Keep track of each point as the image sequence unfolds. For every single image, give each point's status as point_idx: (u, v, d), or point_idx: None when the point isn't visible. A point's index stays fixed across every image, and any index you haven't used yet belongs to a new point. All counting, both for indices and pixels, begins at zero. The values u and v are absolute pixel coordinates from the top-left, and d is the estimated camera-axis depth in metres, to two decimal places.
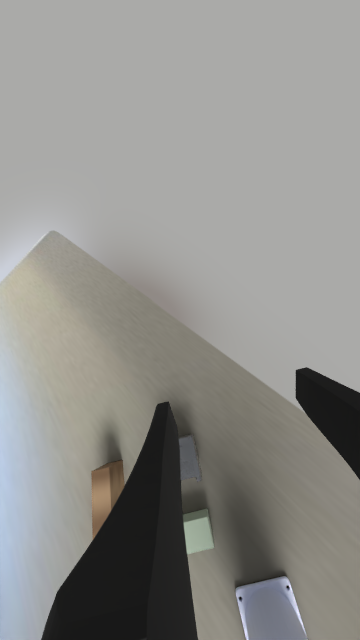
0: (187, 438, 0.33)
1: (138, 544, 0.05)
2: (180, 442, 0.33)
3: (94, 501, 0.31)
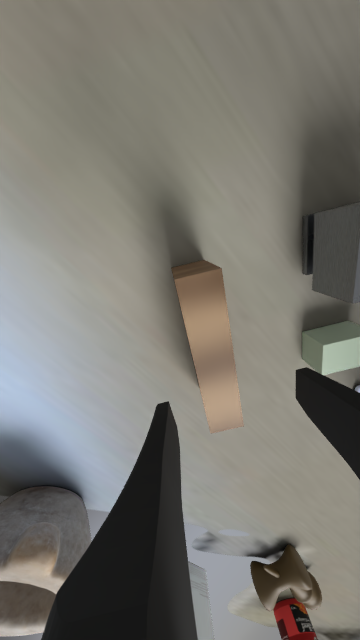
0: None
1: (138, 544, 0.05)
2: None
3: (192, 333, 0.14)
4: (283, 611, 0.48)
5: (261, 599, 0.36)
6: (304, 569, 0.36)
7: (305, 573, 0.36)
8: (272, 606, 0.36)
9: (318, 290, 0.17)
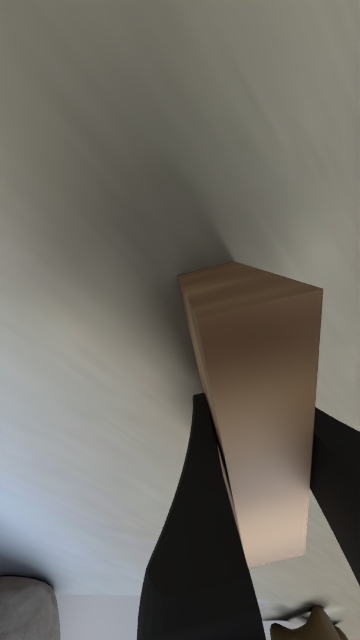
0: None
1: (217, 525, 0.05)
2: None
3: (232, 431, 0.06)
4: None
5: None
6: None
7: None
8: None
9: None
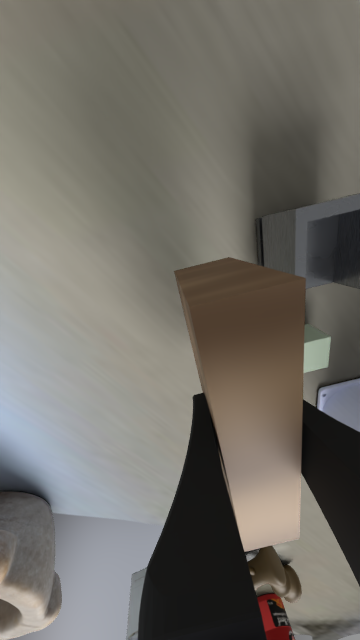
0: None
1: (218, 525, 0.05)
2: None
3: (225, 415, 0.06)
4: (260, 606, 0.49)
5: None
6: (278, 565, 0.37)
7: (279, 569, 0.36)
8: None
9: None
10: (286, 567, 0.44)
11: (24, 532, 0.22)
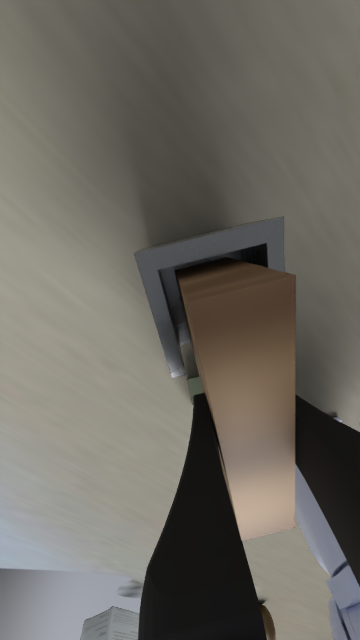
0: (263, 228, 0.08)
1: (218, 524, 0.05)
2: (233, 244, 0.08)
3: (222, 405, 0.07)
4: None
5: None
6: None
7: None
8: None
9: None
10: (260, 608, 0.40)
11: None
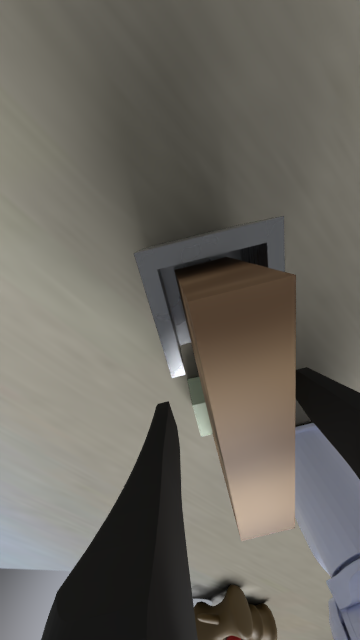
0: (263, 227, 0.08)
1: (138, 544, 0.05)
2: (233, 244, 0.08)
3: (222, 405, 0.07)
4: None
5: None
6: (244, 614, 0.33)
7: (244, 619, 0.33)
8: None
9: None
10: (262, 607, 0.40)
11: None
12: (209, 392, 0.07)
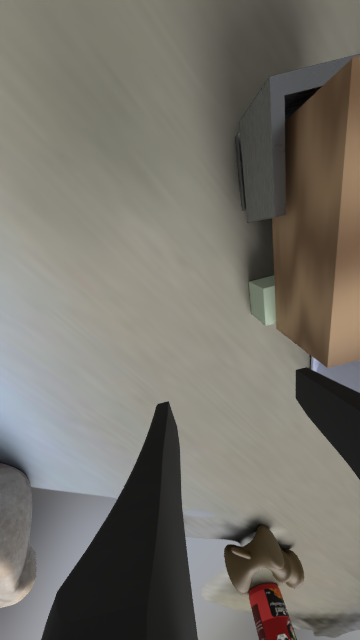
0: None
1: (138, 544, 0.05)
2: None
3: (351, 182, 0.09)
4: (257, 596, 0.47)
5: (233, 582, 0.35)
6: (275, 548, 0.35)
7: (276, 552, 0.34)
8: (245, 588, 0.35)
9: (251, 219, 0.15)
10: (288, 552, 0.42)
11: None
12: (345, 165, 0.08)
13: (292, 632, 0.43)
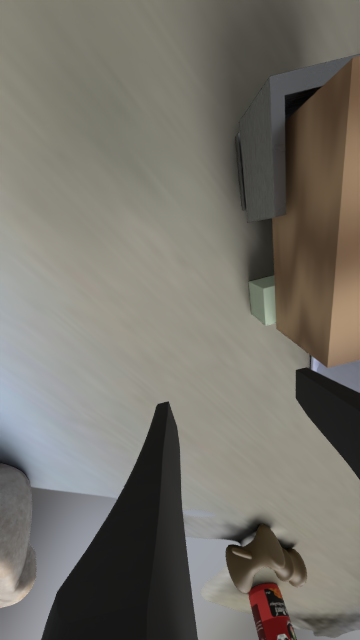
0: None
1: (138, 544, 0.05)
2: None
3: (351, 182, 0.09)
4: (257, 596, 0.47)
5: (234, 582, 0.35)
6: (276, 547, 0.35)
7: (276, 551, 0.34)
8: (247, 588, 0.35)
9: (251, 219, 0.15)
10: (290, 551, 0.42)
11: None
12: (345, 165, 0.08)
13: (292, 632, 0.43)
